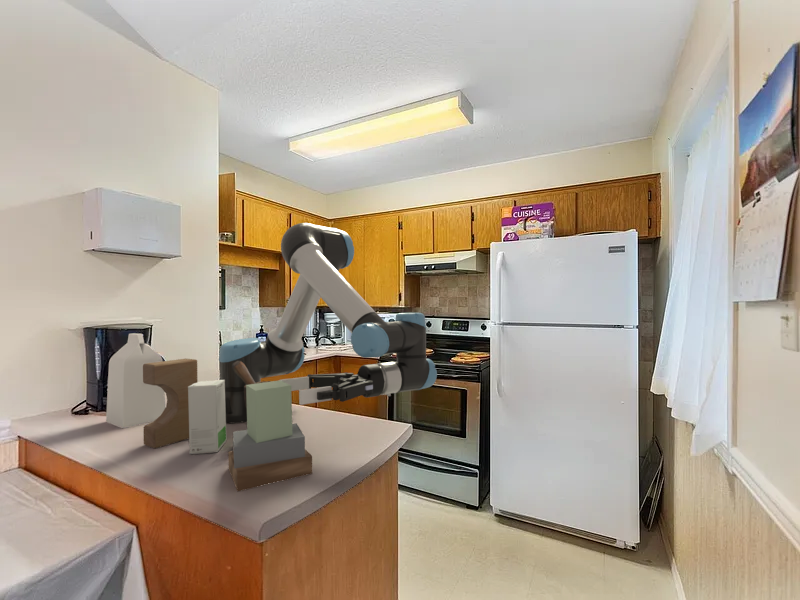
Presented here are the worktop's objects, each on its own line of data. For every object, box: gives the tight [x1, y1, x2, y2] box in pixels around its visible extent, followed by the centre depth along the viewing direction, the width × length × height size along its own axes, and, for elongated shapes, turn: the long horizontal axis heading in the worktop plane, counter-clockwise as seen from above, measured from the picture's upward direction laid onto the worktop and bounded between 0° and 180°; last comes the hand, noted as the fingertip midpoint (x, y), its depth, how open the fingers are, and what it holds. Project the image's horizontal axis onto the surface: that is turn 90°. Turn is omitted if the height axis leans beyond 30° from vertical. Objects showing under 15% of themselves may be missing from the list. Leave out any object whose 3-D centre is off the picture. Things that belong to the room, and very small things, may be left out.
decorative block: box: [142, 358, 199, 449], centre depth 101 cm, size 11×6×20 cm, turn 145°
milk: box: [105, 333, 166, 429], centre depth 120 cm, size 12×12×26 cm
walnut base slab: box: [227, 448, 313, 492], centre depth 81 cm, size 12×14×4 cm
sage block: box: [246, 379, 293, 443], centre depth 81 cm, size 7×7×10 cm
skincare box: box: [188, 379, 227, 455], centre depth 95 cm, size 8×7×16 cm
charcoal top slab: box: [232, 422, 306, 469], centre depth 81 cm, size 10×13×4 cm
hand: (289, 391), depth 83 cm, fingers open, 13 cm apart
